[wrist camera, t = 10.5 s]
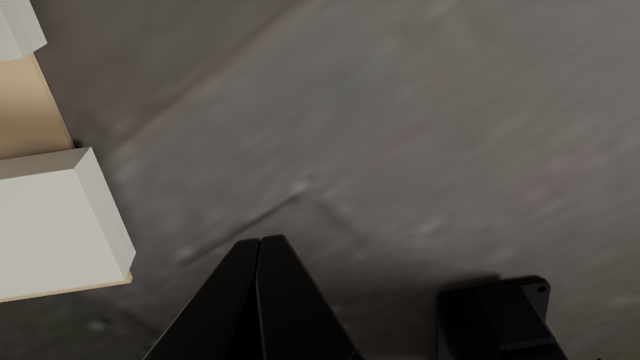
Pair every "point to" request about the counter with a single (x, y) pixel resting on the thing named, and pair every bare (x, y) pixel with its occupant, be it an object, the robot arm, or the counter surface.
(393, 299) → the counter surface
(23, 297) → the cork mat
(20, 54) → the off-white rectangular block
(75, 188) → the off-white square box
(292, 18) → the counter surface
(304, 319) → the robot arm
